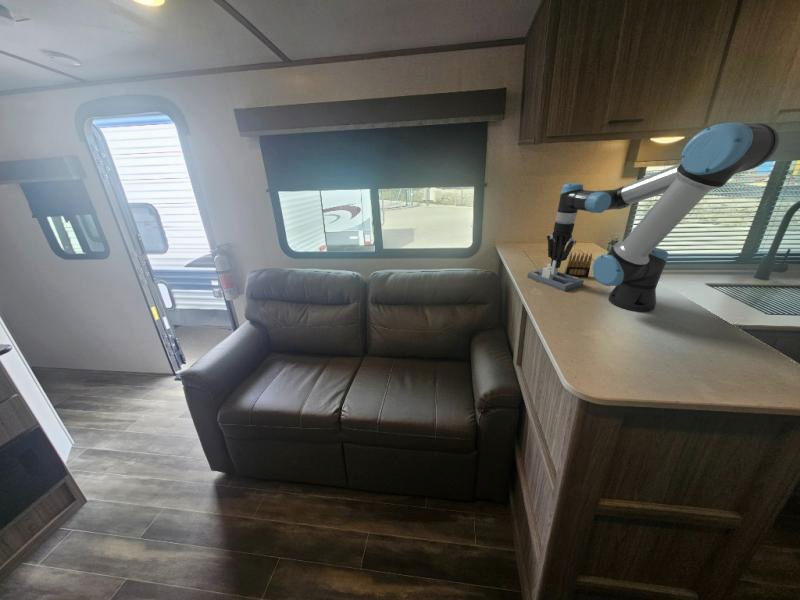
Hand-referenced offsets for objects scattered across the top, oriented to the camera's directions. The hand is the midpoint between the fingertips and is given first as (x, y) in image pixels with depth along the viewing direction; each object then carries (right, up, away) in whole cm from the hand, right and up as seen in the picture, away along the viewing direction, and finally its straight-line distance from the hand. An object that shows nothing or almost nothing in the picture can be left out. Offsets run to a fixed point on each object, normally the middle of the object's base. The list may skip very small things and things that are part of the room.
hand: (553, 273), depth 139 cm
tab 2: (+3, +1, +9) cm, 10 cm away
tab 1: (-1, -2, +4) cm, 4 cm away
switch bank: (+3, -3, +4) cm, 6 cm away
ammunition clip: (+16, -1, +10) cm, 19 cm away
